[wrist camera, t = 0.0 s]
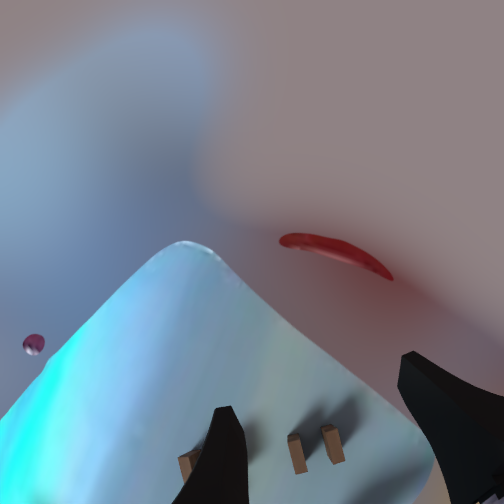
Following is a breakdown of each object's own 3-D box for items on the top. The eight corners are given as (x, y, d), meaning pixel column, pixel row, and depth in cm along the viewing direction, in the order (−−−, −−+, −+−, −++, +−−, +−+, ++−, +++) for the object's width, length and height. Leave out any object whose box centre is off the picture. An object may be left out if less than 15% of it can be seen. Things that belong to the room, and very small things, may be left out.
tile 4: (200, 449, 36) (188, 456, 30) (207, 477, 33) (196, 487, 28) (191, 450, 36) (177, 457, 30) (198, 477, 33) (185, 488, 28)
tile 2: (298, 433, 36) (299, 439, 30) (305, 461, 33) (307, 471, 28) (287, 435, 36) (287, 442, 30) (294, 464, 33) (295, 474, 28)
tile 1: (330, 424, 36) (337, 428, 30) (337, 452, 33) (345, 460, 28) (320, 427, 36) (325, 432, 30) (327, 455, 33) (333, 464, 28)
